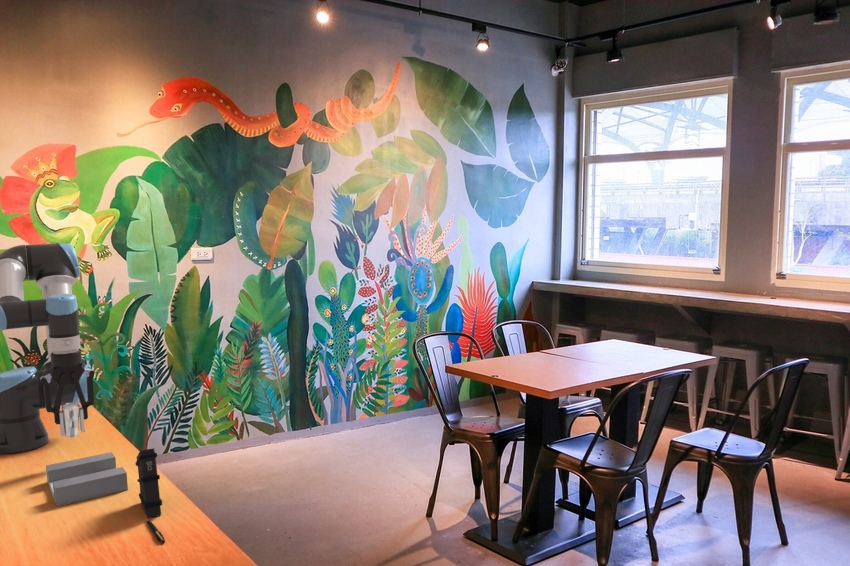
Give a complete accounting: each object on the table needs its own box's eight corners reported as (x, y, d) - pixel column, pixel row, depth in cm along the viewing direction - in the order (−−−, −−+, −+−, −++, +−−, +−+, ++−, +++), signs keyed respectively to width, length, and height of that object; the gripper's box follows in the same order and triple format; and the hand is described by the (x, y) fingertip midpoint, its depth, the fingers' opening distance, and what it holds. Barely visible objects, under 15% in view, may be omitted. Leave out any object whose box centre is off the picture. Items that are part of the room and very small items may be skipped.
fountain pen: (144, 522, 158) (143, 516, 158) (149, 520, 159) (149, 514, 159) (161, 546, 146) (161, 539, 146) (167, 544, 147) (166, 537, 147)
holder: (47, 482, 183) (45, 465, 182) (112, 467, 192) (111, 452, 191) (57, 506, 167) (55, 488, 167) (127, 489, 176) (126, 472, 176)
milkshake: (86, 433, 197) (85, 398, 196) (71, 439, 192) (70, 403, 190) (74, 431, 198) (73, 396, 197) (58, 436, 193) (57, 401, 192)
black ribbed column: (147, 517, 156) (138, 450, 160) (141, 521, 167) (134, 459, 171) (164, 513, 158) (156, 447, 162) (158, 518, 169) (150, 456, 173)
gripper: (30, 358, 184) (38, 443, 187) (102, 348, 194) (108, 430, 197) (28, 352, 190) (35, 435, 193) (97, 344, 200) (103, 423, 203)
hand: (72, 432), depth 195 cm, fingers closed on milkshake, 4 cm apart
